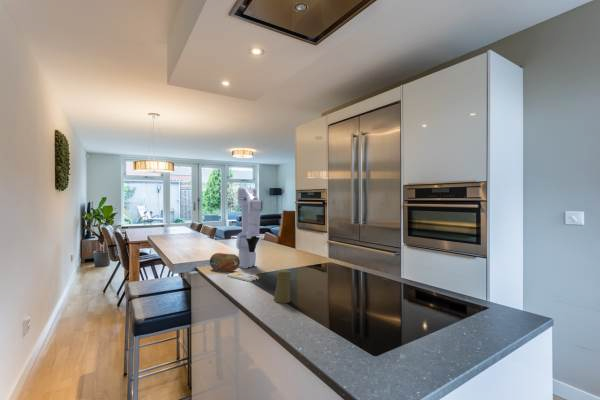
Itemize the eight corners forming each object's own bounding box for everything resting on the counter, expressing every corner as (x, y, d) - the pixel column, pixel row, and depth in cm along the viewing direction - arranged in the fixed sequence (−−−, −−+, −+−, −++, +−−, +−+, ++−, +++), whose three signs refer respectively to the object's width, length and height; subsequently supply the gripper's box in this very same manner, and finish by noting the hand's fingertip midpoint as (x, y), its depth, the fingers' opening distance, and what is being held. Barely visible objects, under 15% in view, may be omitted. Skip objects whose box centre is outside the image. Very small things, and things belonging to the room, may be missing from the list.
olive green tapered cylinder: (291, 298, 111) (293, 269, 111) (289, 304, 105) (291, 272, 105) (275, 297, 112) (277, 267, 112) (272, 302, 106) (274, 271, 106)
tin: (208, 269, 149) (210, 252, 149) (211, 268, 152) (213, 251, 152) (237, 272, 146) (238, 255, 146) (239, 271, 149) (241, 254, 149)
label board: (236, 274, 143) (237, 271, 143) (258, 279, 136) (258, 276, 136) (227, 276, 137) (227, 273, 137) (249, 281, 131) (249, 278, 131)
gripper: (250, 222, 154) (248, 249, 154) (240, 224, 140) (238, 253, 140) (264, 224, 153) (262, 250, 153) (255, 225, 139) (253, 254, 138)
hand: (251, 252), depth 146 cm, fingers closed
